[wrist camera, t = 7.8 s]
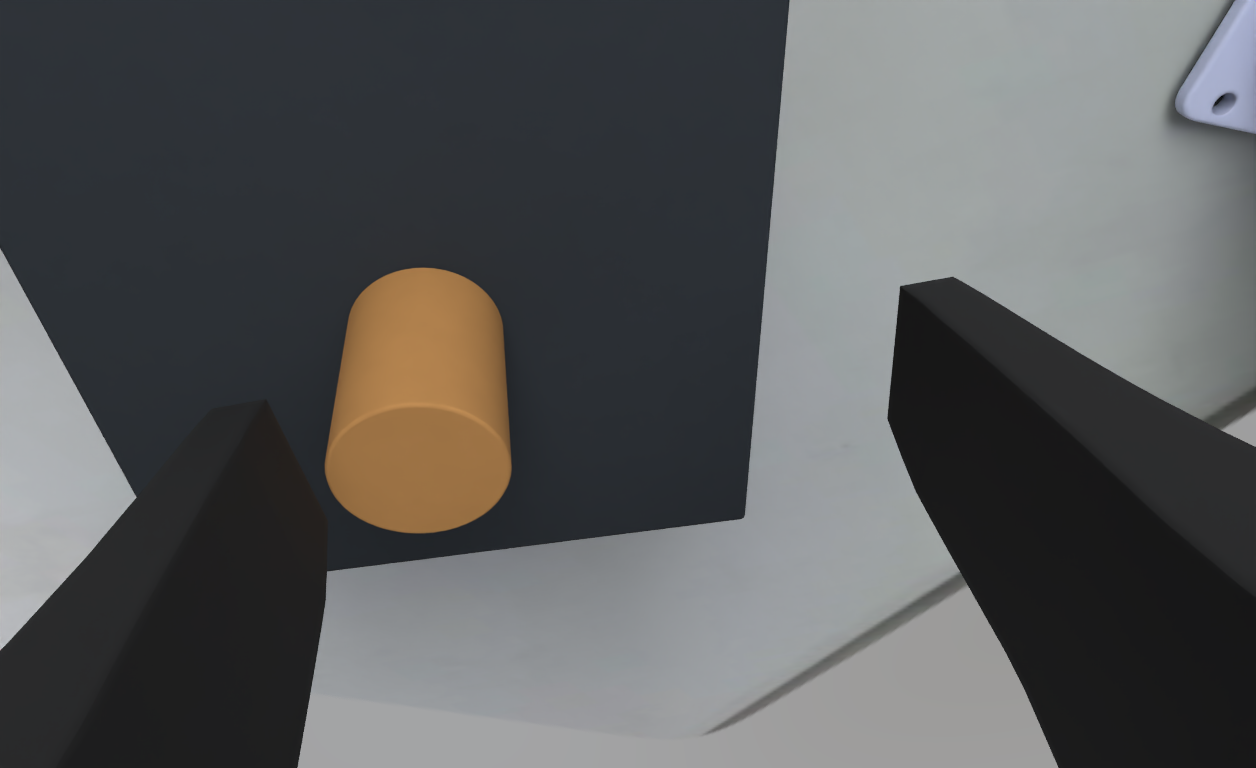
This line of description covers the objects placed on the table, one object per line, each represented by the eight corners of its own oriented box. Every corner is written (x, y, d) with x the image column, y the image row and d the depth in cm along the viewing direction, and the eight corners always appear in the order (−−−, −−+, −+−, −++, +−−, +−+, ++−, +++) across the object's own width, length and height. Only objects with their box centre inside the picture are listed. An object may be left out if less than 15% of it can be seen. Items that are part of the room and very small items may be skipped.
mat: (780, -85, 12) (890, 11, 9) (736, 492, 19) (789, 655, 16) (-111, -29, 11) (-334, 102, 8) (194, 558, 18) (140, 748, 15)
